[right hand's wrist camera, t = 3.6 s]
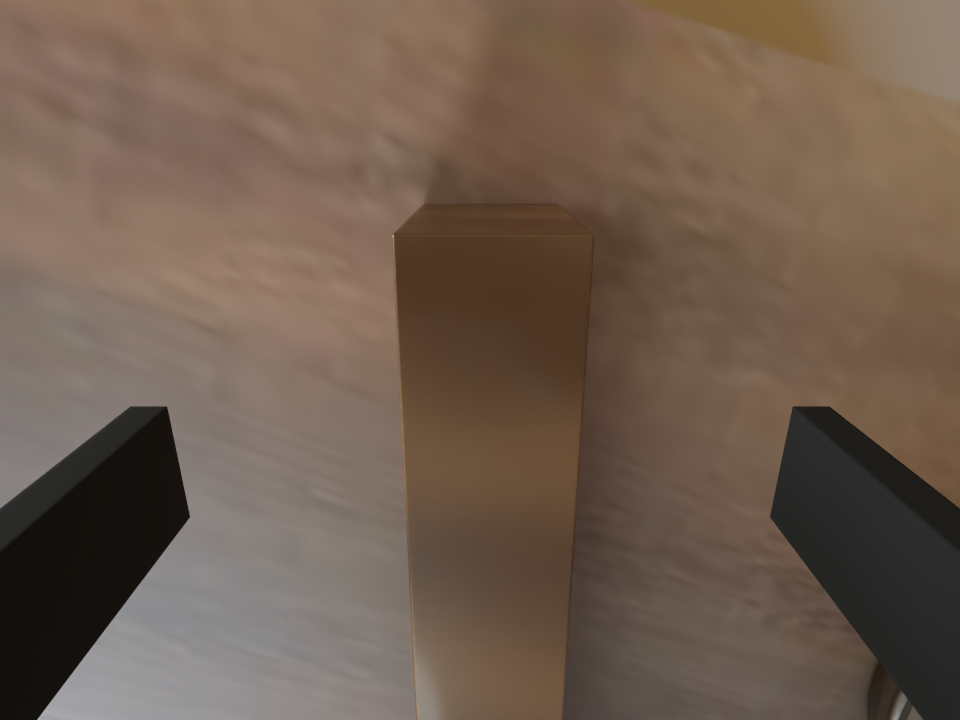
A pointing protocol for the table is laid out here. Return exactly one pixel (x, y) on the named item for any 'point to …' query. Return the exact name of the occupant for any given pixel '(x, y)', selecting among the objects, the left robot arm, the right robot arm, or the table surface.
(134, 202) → the table surface
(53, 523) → the right robot arm
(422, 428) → the bar
